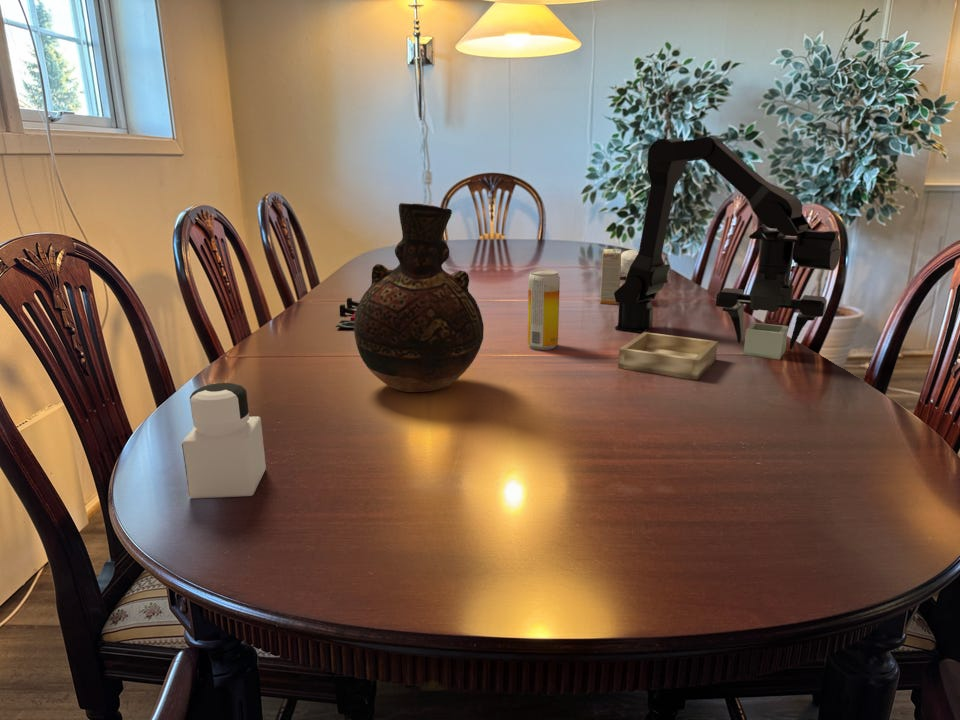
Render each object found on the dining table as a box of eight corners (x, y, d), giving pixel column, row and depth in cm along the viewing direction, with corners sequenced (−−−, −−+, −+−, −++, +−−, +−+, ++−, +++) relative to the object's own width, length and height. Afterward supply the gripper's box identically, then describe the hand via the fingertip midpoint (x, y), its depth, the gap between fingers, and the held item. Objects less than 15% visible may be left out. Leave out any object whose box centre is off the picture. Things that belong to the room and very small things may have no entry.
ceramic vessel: (345, 403, 106) (332, 206, 98) (368, 369, 123) (359, 198, 114) (481, 405, 105) (479, 206, 97) (485, 370, 122) (485, 198, 113)
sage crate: (743, 354, 131) (746, 329, 129) (749, 346, 136) (752, 322, 134) (779, 359, 127) (783, 333, 126) (785, 351, 133) (788, 326, 131)
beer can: (561, 344, 138) (564, 270, 134) (552, 352, 133) (553, 275, 129) (533, 341, 141) (534, 268, 136) (522, 348, 136) (523, 273, 131)
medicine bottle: (207, 471, 84) (195, 379, 80) (266, 469, 85) (257, 377, 81) (188, 499, 77) (174, 400, 74) (253, 497, 78) (242, 397, 74)
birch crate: (618, 367, 123) (619, 349, 122) (643, 349, 135) (644, 331, 134) (697, 380, 116) (698, 360, 115) (716, 359, 128) (717, 341, 127)
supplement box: (618, 304, 174) (621, 253, 170) (599, 303, 175) (601, 252, 171) (619, 298, 182) (621, 248, 178) (600, 297, 183) (603, 248, 179)
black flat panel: (327, 331, 150) (395, 332, 150) (326, 318, 150) (394, 319, 150) (353, 304, 179) (410, 304, 179) (352, 293, 178) (410, 294, 178)
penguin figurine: (643, 250, 205) (604, 255, 204) (644, 278, 208) (606, 283, 206) (635, 247, 211) (598, 252, 210) (636, 275, 214) (599, 280, 212)
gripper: (712, 267, 125) (705, 349, 129) (826, 275, 116) (813, 363, 120) (726, 259, 134) (718, 336, 138) (832, 266, 125) (820, 348, 129)
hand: (764, 345), depth 131 cm, fingers open, 9 cm apart
